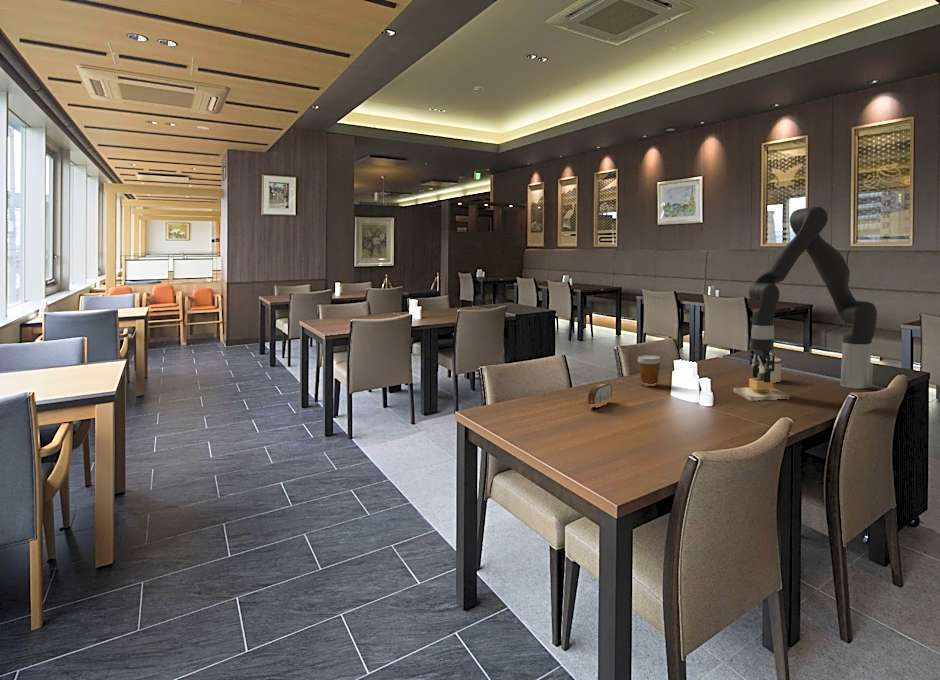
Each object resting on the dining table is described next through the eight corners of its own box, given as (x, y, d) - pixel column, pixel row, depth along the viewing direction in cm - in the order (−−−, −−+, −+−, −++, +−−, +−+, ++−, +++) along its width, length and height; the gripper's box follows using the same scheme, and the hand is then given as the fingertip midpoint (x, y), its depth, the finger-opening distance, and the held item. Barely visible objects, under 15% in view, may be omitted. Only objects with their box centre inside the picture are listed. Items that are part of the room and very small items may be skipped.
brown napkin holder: (605, 401, 214) (605, 379, 213) (613, 402, 212) (613, 380, 211) (587, 410, 203) (586, 387, 201) (595, 411, 201) (594, 388, 199)
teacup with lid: (786, 382, 230) (787, 354, 229) (767, 384, 229) (767, 355, 227) (765, 376, 242) (766, 349, 240) (746, 378, 240) (747, 351, 238)
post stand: (769, 390, 219) (770, 368, 217) (789, 399, 205) (790, 376, 204) (733, 391, 219) (734, 370, 218) (750, 400, 205) (751, 378, 204)
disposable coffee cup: (664, 387, 231) (664, 358, 229) (640, 388, 231) (640, 359, 229) (657, 382, 240) (657, 354, 238) (634, 383, 240) (634, 355, 239)
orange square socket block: (765, 385, 214) (765, 377, 214) (773, 389, 208) (773, 381, 208) (749, 386, 214) (749, 378, 214) (756, 389, 208) (756, 381, 208)
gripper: (782, 339, 201) (781, 383, 204) (763, 333, 216) (761, 375, 218) (761, 340, 202) (760, 384, 204) (743, 334, 216) (742, 376, 218)
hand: (761, 379), depth 211 cm, fingers open, 8 cm apart
